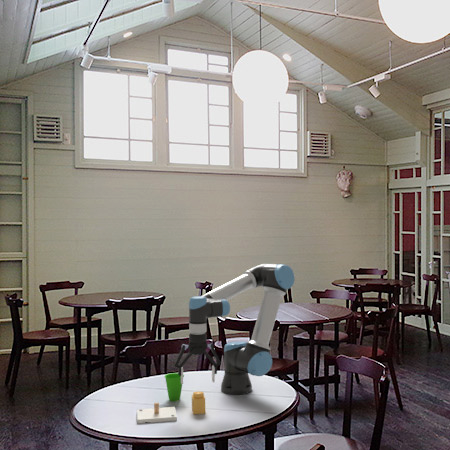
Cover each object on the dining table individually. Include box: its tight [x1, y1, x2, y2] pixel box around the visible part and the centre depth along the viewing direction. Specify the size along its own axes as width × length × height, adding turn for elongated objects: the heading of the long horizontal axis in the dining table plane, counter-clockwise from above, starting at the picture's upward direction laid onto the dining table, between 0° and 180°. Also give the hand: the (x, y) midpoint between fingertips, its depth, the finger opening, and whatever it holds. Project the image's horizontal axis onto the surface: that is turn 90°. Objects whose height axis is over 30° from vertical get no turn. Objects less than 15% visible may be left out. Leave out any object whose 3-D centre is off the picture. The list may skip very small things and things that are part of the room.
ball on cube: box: [191, 390, 206, 415], centre depth 211 cm, size 5×5×8 cm
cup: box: [164, 372, 185, 402], centre depth 227 cm, size 9×9×11 cm
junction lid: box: [136, 402, 178, 424], centre depth 206 cm, size 16×12×6 cm
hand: (197, 382), depth 211 cm, fingers open, 13 cm apart
